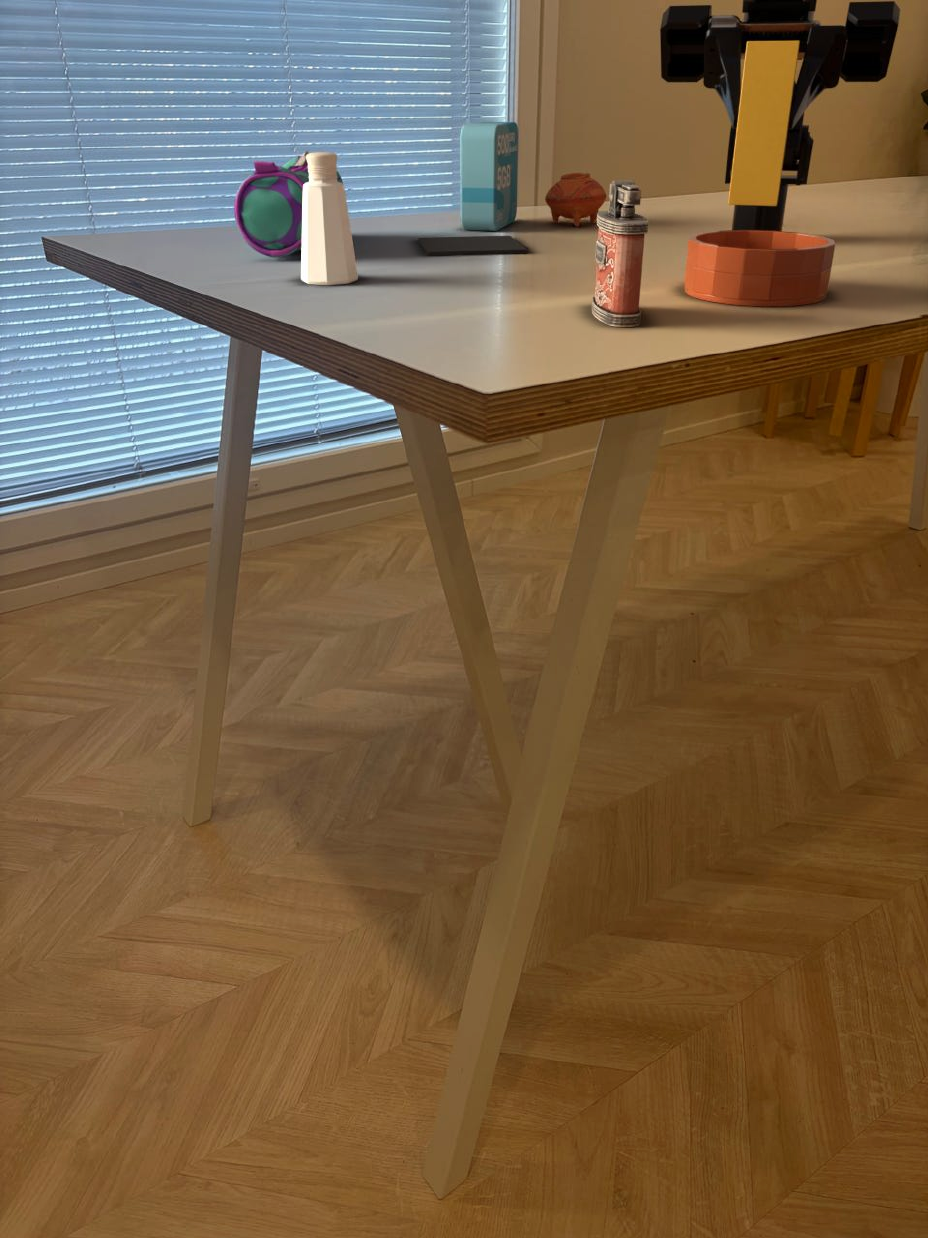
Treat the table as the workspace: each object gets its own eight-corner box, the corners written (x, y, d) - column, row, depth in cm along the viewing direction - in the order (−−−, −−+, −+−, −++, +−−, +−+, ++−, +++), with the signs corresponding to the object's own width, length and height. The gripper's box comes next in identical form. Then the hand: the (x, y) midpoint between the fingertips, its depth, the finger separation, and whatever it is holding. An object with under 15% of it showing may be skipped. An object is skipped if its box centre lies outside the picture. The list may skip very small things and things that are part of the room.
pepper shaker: (326, 287, 91) (317, 155, 86) (289, 280, 95) (278, 153, 89) (369, 279, 95) (364, 152, 90) (332, 273, 98) (325, 150, 93)
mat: (418, 240, 117) (418, 237, 117) (509, 238, 119) (509, 235, 118) (427, 255, 108) (427, 251, 108) (527, 252, 109) (527, 249, 109)
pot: (615, 224, 127) (606, 168, 124) (555, 240, 128) (545, 185, 124) (605, 214, 134) (596, 161, 130) (548, 230, 135) (538, 177, 131)
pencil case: (276, 234, 123) (268, 148, 118) (347, 234, 122) (342, 148, 118) (235, 261, 104) (225, 161, 100) (319, 261, 104) (312, 161, 99)
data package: (494, 232, 123) (496, 124, 118) (460, 231, 125) (459, 124, 119) (517, 220, 134) (519, 121, 128) (484, 219, 135) (485, 120, 129)
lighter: (584, 306, 83) (592, 176, 79) (624, 305, 84) (633, 176, 79) (604, 327, 76) (613, 186, 72) (648, 326, 77) (660, 185, 72)
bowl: (719, 275, 96) (725, 226, 94) (845, 289, 89) (854, 236, 87) (660, 295, 87) (665, 241, 85) (794, 312, 81) (803, 254, 79)
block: (730, 199, 87) (749, 42, 82) (777, 200, 86) (799, 41, 81) (728, 204, 84) (747, 40, 78) (776, 206, 83) (799, 40, 77)
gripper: (674, -112, 80) (644, 43, 76) (922, -124, 75) (905, 40, 71) (674, 8, 90) (648, 150, 86) (893, 4, 86) (876, 154, 82)
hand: (762, 124), depth 81 cm, fingers closed on block, 4 cm apart
